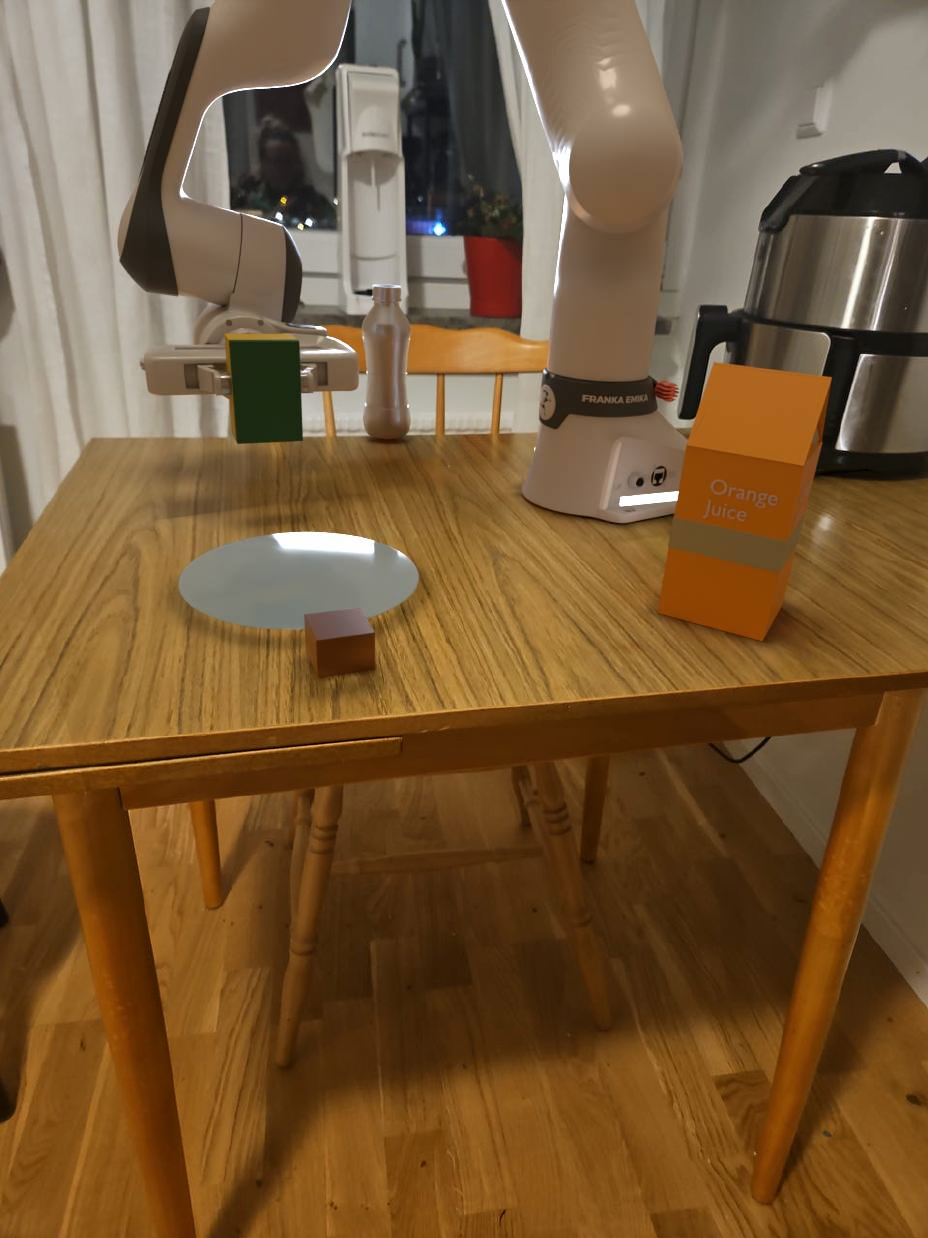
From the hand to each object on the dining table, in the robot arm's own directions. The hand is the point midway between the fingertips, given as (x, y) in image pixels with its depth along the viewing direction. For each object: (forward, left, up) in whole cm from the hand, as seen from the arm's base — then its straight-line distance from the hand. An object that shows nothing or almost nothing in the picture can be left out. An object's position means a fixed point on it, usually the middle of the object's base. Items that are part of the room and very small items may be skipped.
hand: (266, 385), depth 73 cm
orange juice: (-33, +27, -15) cm, 45 cm away
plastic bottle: (-21, -33, -15) cm, 42 cm away
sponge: (0, -1, -5) cm, 5 cm away
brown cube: (0, +28, -14) cm, 31 cm away
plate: (0, +13, -14) cm, 19 cm away
